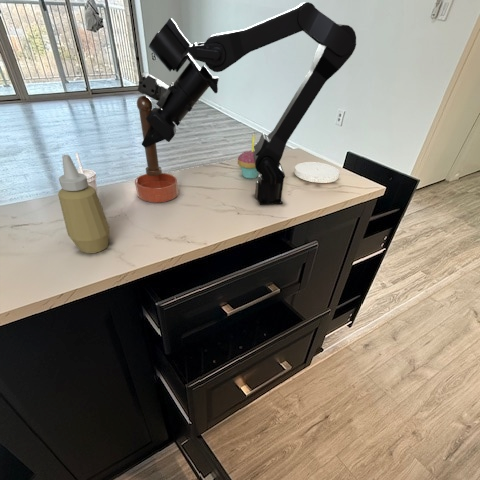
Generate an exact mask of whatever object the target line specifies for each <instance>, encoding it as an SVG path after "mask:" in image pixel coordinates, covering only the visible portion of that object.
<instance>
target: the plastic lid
mask: <svg viewBox="0 0 480 480" xmlns="http://www.w3.org/2000/svg"><path fill="white" fill-rule="evenodd" d="M294 175H295V176H296V177H297V178H299V179H301V180H303V181H306V182H310V183H318V184H328V183H333V182H336V181H338V179H339V177H340V170H339V169H338V168H337V167H335V166H333V165H331V164H328V163H325V162H324V163H323V162H318V161H317V162H316V161H305V162H300V163H297V164H296V165H295V167H294Z"/></svg>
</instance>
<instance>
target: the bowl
mask: <svg viewBox="0 0 480 480" xmlns="http://www.w3.org/2000/svg"><path fill="white" fill-rule="evenodd" d="M178 184H179V182H178V178H177V177H176V176H175V175H172V174H170V173H165V172H162V174H161V175H158V176H149V175H147V174H146V173H143V174H141V175H139V176H137V177H136V178H135V180H134V185H135V190H136V191H135V192H136V195H137V197H138V198H139V200H142V201H145V202H148V203H157V204H159V203H165V202H170V201H172V200H174V199H175V198H177V197H178V196H179V185H178Z"/></svg>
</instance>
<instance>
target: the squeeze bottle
mask: <svg viewBox="0 0 480 480" xmlns="http://www.w3.org/2000/svg"><path fill="white" fill-rule="evenodd" d="M61 159H62V168H63V174H62V175H61V176H59V177H58V183H59V185H60V187H61V188H60V189H59V191H58V193H57V196H58V200H59V204H60V208H61V213H62V216H63V220H64V225H65V229H66V234H67V236H68V237H69V239H71V241H72V242H73V243H74V244H75V246H76V247H77V248H78V249H79V251H80V252H81V253H85V254H96V253H99V252H103V251H104V250H106V249H107V248H108V246H109V238H110V232H111V231H110V225H109V222H108V219H107V217H106V215H105V211H104V209H103V206H102V204H101V201H100V199H99V195H98V196H97V193H96V190H95V189H94V188H93V187H91V186H90V185H88V181H87V177H86V176H85V175H84V174H81V173H78V171H77V169H78V168H77V166H76V165H75V163H74V161H73V159H72V158H71V156H70V155H69V154H63V155H62V156H61Z"/></svg>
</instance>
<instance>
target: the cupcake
mask: <svg viewBox="0 0 480 480" xmlns="http://www.w3.org/2000/svg"><path fill="white" fill-rule="evenodd" d="M255 133H256V132H255V131H253V135H252V140H251V141H252V142H251V150H245V151H243V152H241V153H240V154H239V155H238V156H237V165H238V166H239V167H240V169H241V173H242V174H241V175H242V177H243V178H245V179H256V178H258V176H259V175H260V173H259V172H258V171H257V170H256V167H255V162H254V151H255V150H254V146H255V141H256V140H255V139H256V134H255Z"/></svg>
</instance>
